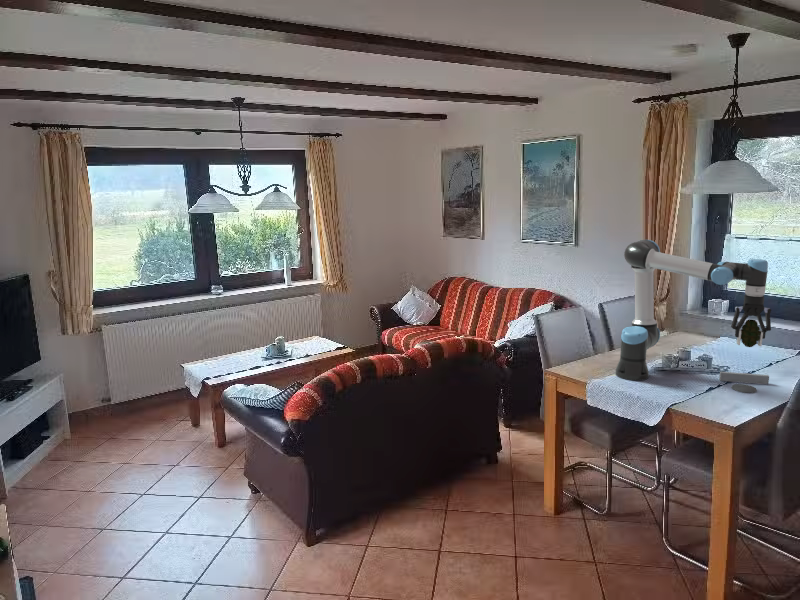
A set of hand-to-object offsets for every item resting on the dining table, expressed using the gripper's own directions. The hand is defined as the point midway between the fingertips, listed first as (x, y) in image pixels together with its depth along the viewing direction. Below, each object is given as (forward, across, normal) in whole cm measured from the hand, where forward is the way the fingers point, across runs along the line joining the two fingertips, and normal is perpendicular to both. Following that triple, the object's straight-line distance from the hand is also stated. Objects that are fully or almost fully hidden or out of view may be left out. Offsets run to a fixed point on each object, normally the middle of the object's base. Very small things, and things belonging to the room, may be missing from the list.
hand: (748, 344), depth 259 cm
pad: (+21, 0, 0) cm, 21 cm away
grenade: (+1, 0, 0) cm, 1 cm away
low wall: (+21, +2, +10) cm, 23 cm away
